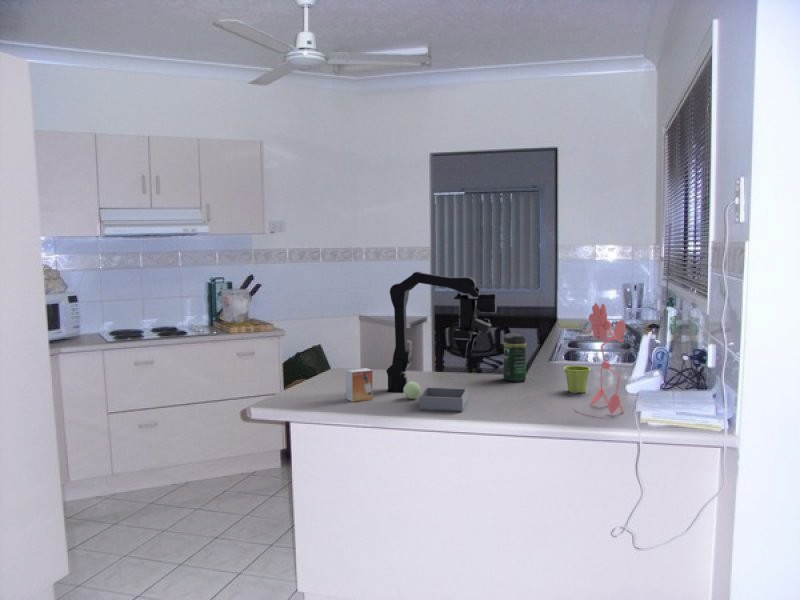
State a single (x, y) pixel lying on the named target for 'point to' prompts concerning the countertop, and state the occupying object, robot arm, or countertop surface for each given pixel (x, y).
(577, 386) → the plant pot
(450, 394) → the bin
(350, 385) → the small box
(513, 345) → the coffee jar
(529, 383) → the countertop surface
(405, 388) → the ball
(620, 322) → the figurine
